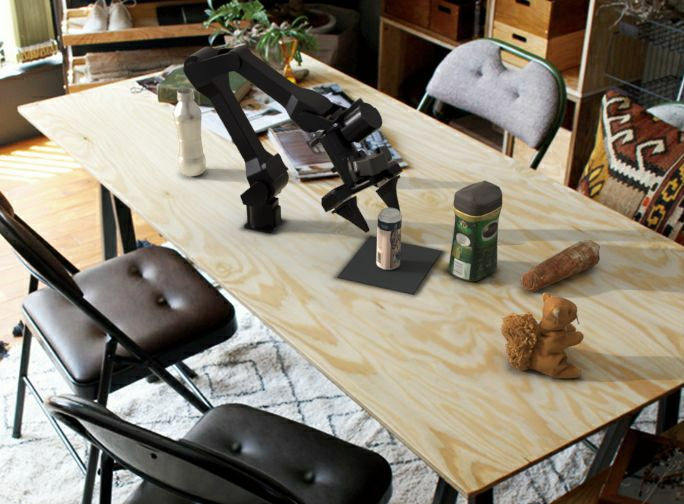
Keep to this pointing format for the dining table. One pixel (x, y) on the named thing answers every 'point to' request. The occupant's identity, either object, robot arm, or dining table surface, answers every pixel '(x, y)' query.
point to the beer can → (389, 238)
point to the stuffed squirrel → (543, 338)
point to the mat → (399, 279)
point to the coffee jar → (475, 231)
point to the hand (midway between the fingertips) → (383, 223)
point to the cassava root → (562, 265)
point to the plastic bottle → (189, 134)
